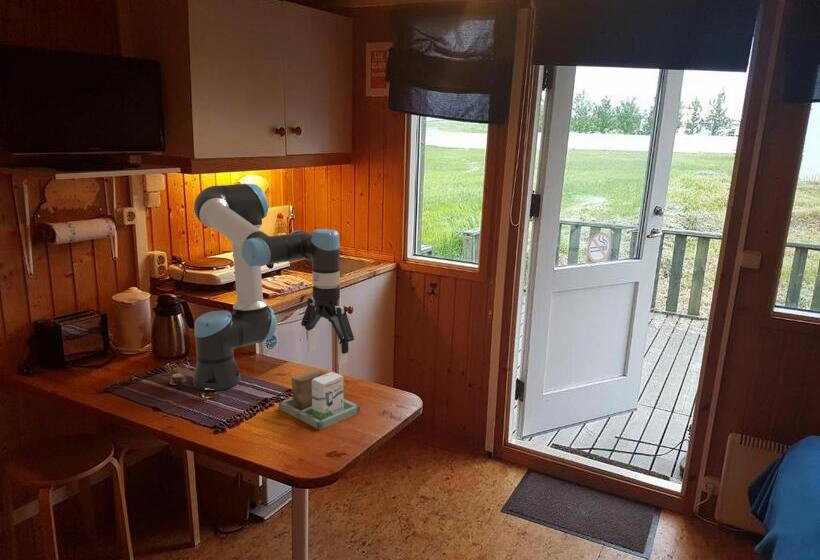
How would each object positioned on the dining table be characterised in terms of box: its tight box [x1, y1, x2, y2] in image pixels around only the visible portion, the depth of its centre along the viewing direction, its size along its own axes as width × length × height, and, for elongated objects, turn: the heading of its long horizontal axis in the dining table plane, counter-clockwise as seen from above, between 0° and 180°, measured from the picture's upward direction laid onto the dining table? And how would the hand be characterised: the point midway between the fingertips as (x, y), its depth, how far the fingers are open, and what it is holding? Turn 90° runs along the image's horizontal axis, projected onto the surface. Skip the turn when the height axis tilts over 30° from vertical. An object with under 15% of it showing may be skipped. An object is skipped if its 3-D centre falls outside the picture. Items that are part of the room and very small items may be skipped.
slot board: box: [278, 397, 361, 431], centre depth 180 cm, size 19×15×3 cm
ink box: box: [312, 371, 344, 421], centre depth 175 cm, size 9×5×12 cm, turn 142°
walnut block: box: [291, 368, 327, 411], centre depth 181 cm, size 5×9×10 cm, turn 137°
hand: (327, 356), depth 173 cm, fingers open, 13 cm apart
